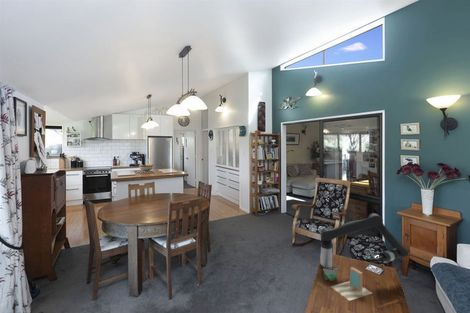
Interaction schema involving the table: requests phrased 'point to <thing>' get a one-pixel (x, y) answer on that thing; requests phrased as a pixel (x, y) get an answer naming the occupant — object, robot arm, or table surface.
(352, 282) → the tile
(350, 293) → the board
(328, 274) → the food container
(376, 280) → the table surface
